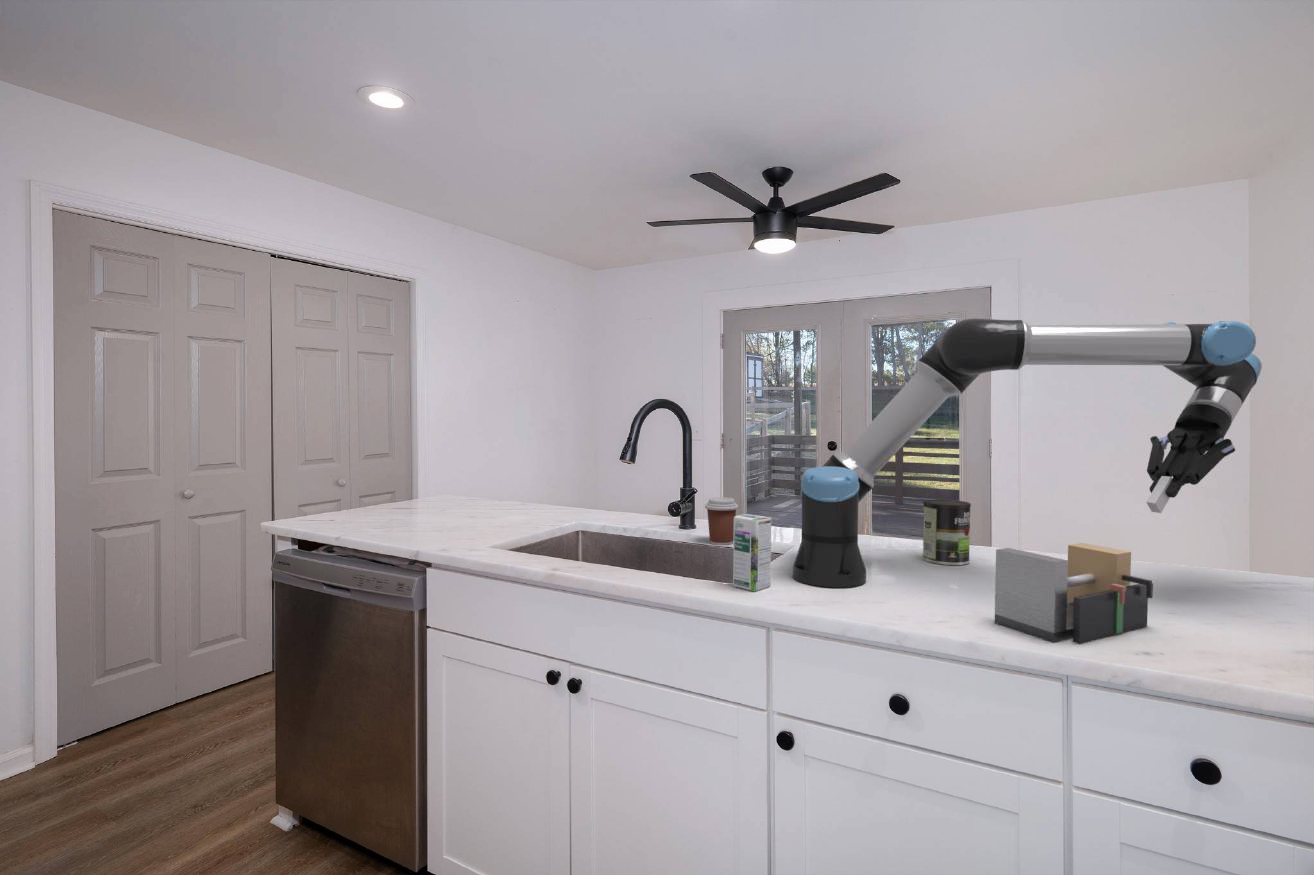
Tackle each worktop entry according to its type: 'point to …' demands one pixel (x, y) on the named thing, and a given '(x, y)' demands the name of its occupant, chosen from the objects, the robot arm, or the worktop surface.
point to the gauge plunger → (1099, 570)
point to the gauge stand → (1060, 601)
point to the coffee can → (946, 532)
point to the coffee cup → (721, 520)
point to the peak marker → (1121, 592)
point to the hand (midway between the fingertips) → (1153, 507)
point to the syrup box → (752, 552)
